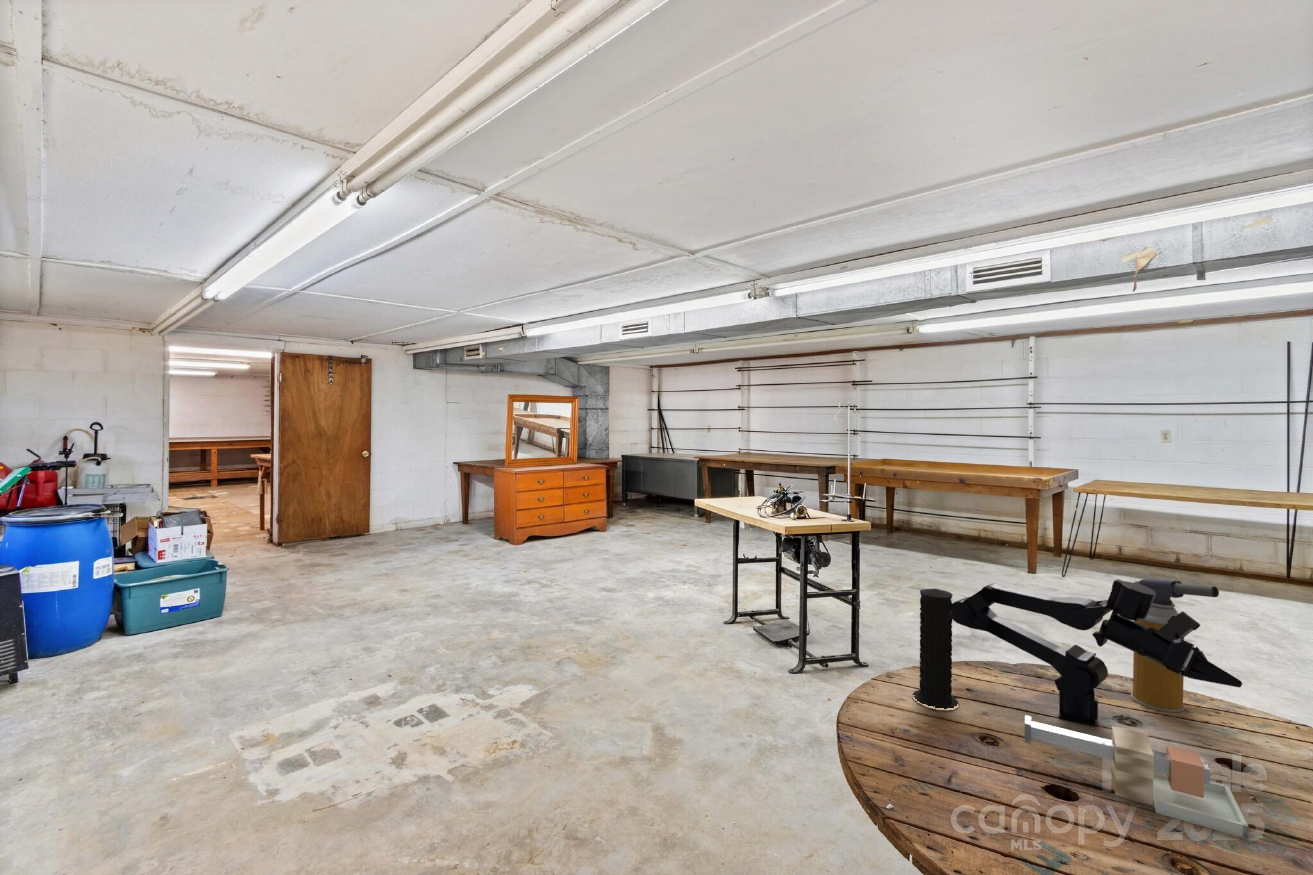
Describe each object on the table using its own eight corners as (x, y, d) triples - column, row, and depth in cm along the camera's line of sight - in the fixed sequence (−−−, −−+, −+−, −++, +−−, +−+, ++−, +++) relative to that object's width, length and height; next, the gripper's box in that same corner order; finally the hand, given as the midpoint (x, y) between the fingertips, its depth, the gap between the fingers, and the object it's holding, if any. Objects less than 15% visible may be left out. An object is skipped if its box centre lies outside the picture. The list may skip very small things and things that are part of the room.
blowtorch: (1148, 689, 139) (1150, 566, 138) (1229, 723, 124) (1232, 585, 123) (1118, 694, 137) (1121, 569, 136) (1197, 729, 121) (1200, 588, 120)
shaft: (1024, 742, 110) (1024, 723, 109) (1025, 733, 113) (1025, 714, 113) (1210, 790, 95) (1211, 769, 95) (1205, 778, 98) (1206, 757, 98)
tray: (1155, 812, 96) (1155, 800, 96) (1145, 775, 106) (1145, 764, 106) (1248, 839, 90) (1248, 826, 90) (1227, 796, 100) (1228, 785, 100)
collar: (1171, 789, 97) (1171, 759, 97) (1166, 773, 102) (1166, 745, 101) (1203, 798, 95) (1204, 767, 95) (1196, 781, 99) (1197, 752, 99)
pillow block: (1115, 795, 100) (1116, 746, 100) (1111, 771, 107) (1111, 725, 107) (1152, 805, 98) (1153, 755, 97) (1146, 780, 104) (1146, 733, 104)
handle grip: (962, 697, 136) (917, 686, 142) (963, 586, 135) (917, 580, 141) (955, 715, 128) (907, 703, 133) (956, 597, 127) (908, 590, 133)
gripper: (1149, 597, 112) (1260, 641, 100) (1159, 607, 124) (1259, 648, 112) (1124, 648, 112) (1232, 699, 100) (1137, 654, 124) (1235, 699, 112)
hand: (1241, 684), depth 106 cm, fingers open, 9 cm apart
